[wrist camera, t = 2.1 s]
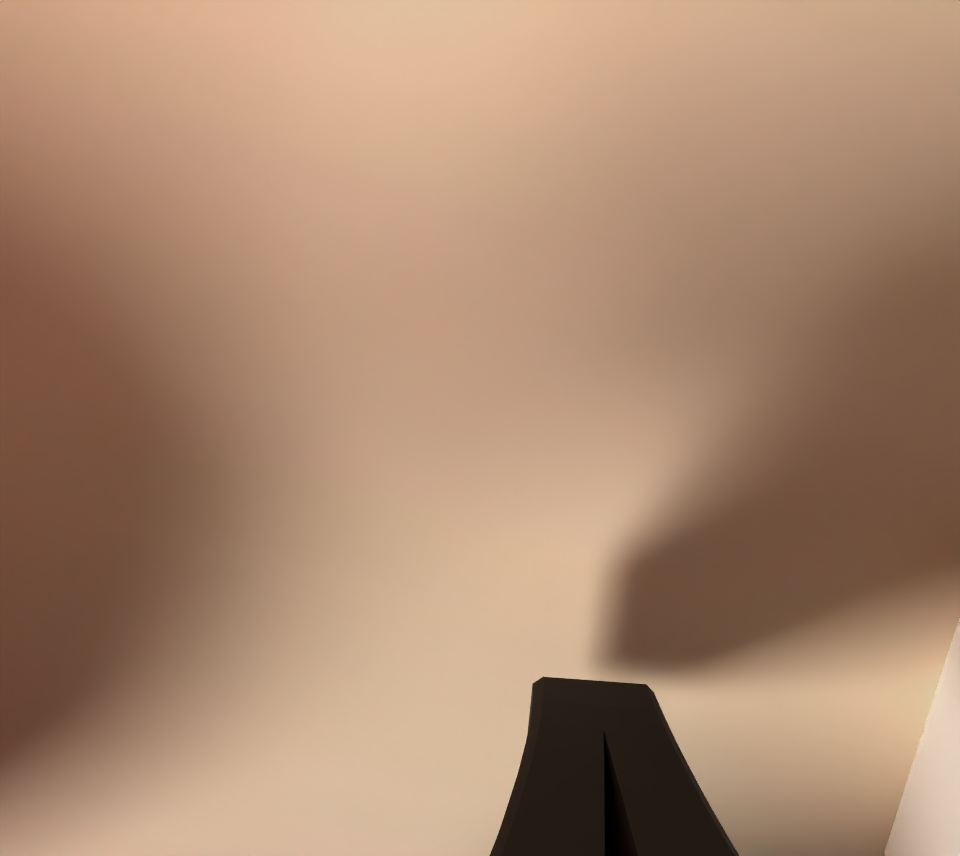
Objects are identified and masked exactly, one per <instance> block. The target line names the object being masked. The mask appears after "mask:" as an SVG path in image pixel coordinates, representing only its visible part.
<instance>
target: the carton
mask: <svg viewBox="0 0 960 856" xmlns="http://www.w3.org/2000/svg"><path fill="white" fill-rule="evenodd" d="M884 854H885V856H960V617H959V621H958V624H957V627H956V630H955V633H954V636H953V639H952V642H951V645H950V649H949V652H948V655H947V658H946V661H945V664H944V667H943V670H942V674H941V677H940V680H939V683H938V686H937V689H936V692H935V695H934V698H933V702H932V705H931V708H930V711H929V714H928V717H927V720H926V723H925V727H924V730H923V733H922V736H921V739H920V742H919V745H918V748H917V751H916V755H915V758H914V761H913V764H912V767H911V770H910V773H909V776H908V780H907V783H906V786H905V789H904V792H903V795H902V798H901V801H900V804H899V808H898V811H897V814H896V817H895V820H894V823H893V826H892V829H891V833H890V836H889V839H888V842H887V845H886V848H885V851H884Z"/></svg>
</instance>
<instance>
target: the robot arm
mask: <svg viewBox="0 0 960 856" xmlns="http://www.w3.org/2000/svg"><path fill="white" fill-rule="evenodd" d="M490 856H739V855H738V853H737V851H736V850H735V848H734V846H733V844H732V843H731V841H730V839H729V838H728V836H727V834H726V832H725V831H724V829H723V827H722V826H721V824H720V822H719V820H718V819H717V817H716V815H715V814H714V812H713V810H712V808H711V807H710V805H709V803H708V801H707V799H706V798H705V796H704V794H703V792H702V790H701V789H700V787H699V785H698V783H697V781H696V779H695V777H694V775H693V773H692V771H691V770H690V768H689V766H688V764H687V762H686V760H685V758H684V756H683V754H682V752H681V750H680V748H679V746H678V744H677V742H676V740H675V738H674V736H673V734H672V732H671V730H670V728H669V726H668V723H667V721H666V719H665V717H664V715H663V712H662V710H661V708H660V706H659V703H658V701H657V699H656V696H655V694H654V692H653V691H652V690H651V689H650V688H649V687H648V686H647V685H646V684H634V683H620V682H606V681H592V680H579V679H565V678H551V677H542V678H541V679H539V680H538V681H536V682H535V683H533V686H532V696H531V706H530V716H529V726H528V735H527V740H526V744H525V748H524V752H523V756H522V760H521V764H520V768H519V772H518V775H517V778H516V781H515V784H514V788H513V791H512V794H511V797H510V800H509V803H508V806H507V809H506V812H505V815H504V819H503V822H502V825H501V828H500V830H499V833H498V836H497V839H496V841H495V844H494V846H493V849H492V851H491V854H490Z"/></svg>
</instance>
